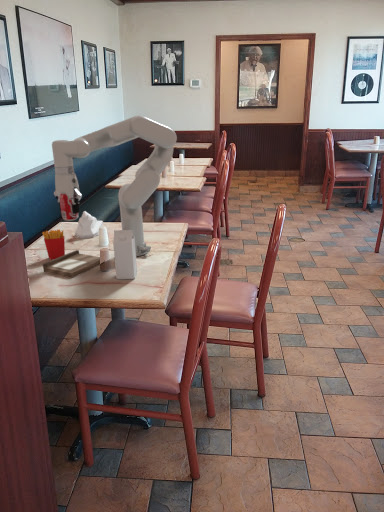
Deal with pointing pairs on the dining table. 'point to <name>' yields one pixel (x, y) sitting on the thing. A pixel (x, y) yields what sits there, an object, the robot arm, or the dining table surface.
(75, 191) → the robot arm
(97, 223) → the crumpled white paper
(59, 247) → the french fries
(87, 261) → the wooden tray
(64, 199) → the soda can
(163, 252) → the dining table surface
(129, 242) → the milk carton
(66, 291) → the dining table surface
